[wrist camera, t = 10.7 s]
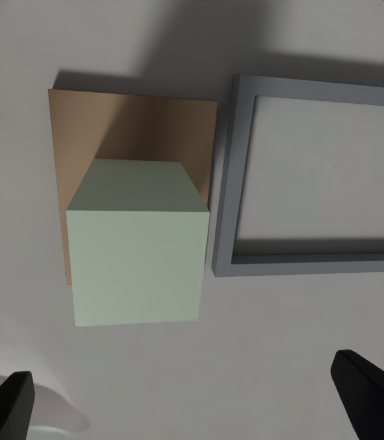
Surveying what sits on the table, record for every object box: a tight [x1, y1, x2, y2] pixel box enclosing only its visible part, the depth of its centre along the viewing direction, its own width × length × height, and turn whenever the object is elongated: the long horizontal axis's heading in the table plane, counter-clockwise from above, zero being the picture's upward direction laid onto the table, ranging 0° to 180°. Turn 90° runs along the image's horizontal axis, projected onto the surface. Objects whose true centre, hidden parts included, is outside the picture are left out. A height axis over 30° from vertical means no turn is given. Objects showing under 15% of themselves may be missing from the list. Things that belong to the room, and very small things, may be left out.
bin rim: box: [211, 74, 384, 277], centre depth 22 cm, size 17×13×1 cm
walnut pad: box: [48, 89, 218, 285], centre depth 20 cm, size 9×12×1 cm
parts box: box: [66, 159, 210, 327], centre depth 16 cm, size 5×5×8 cm
